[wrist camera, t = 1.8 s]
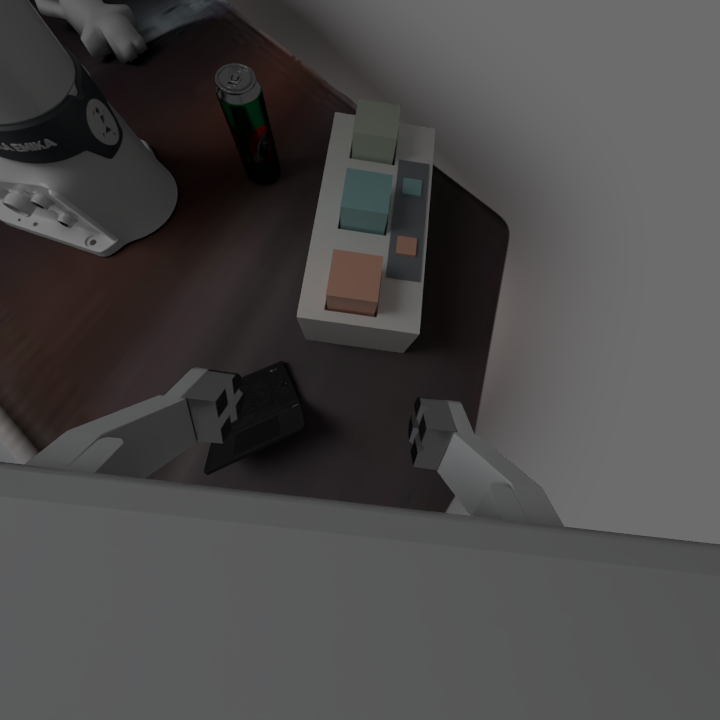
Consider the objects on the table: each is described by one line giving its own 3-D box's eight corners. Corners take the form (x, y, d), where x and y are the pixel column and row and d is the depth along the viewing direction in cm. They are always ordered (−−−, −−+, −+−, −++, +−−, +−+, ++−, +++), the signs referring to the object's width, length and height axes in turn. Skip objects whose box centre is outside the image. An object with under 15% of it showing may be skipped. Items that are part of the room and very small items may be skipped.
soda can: (285, 163, 43) (264, 66, 31) (276, 190, 42) (251, 99, 30) (252, 156, 43) (219, 55, 31) (242, 183, 42) (204, 89, 30)
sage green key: (351, 167, 36) (352, 131, 31) (356, 136, 37) (358, 97, 32) (390, 173, 36) (397, 138, 31) (393, 142, 37) (401, 105, 32)
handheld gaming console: (271, 345, 35) (273, 382, 26) (304, 385, 38) (315, 429, 30) (192, 397, 34) (168, 452, 26) (233, 433, 38) (224, 492, 29)
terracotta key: (328, 313, 31) (325, 294, 27) (334, 272, 32) (333, 249, 28) (372, 319, 31) (377, 302, 27) (377, 279, 32) (383, 256, 28)
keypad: (305, 339, 37) (295, 315, 29) (336, 168, 43) (335, 107, 35) (403, 353, 37) (420, 332, 29) (418, 181, 44) (436, 124, 35)
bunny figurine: (103, 47, 41) (10, -17, 40) (126, 86, 46) (44, 30, 45) (148, 12, 43) (61, -49, 42) (165, 53, 48) (88, -1, 47)
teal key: (340, 235, 33) (340, 206, 29) (346, 200, 34) (346, 167, 30) (382, 241, 33) (388, 214, 29) (386, 206, 35) (392, 174, 30)
